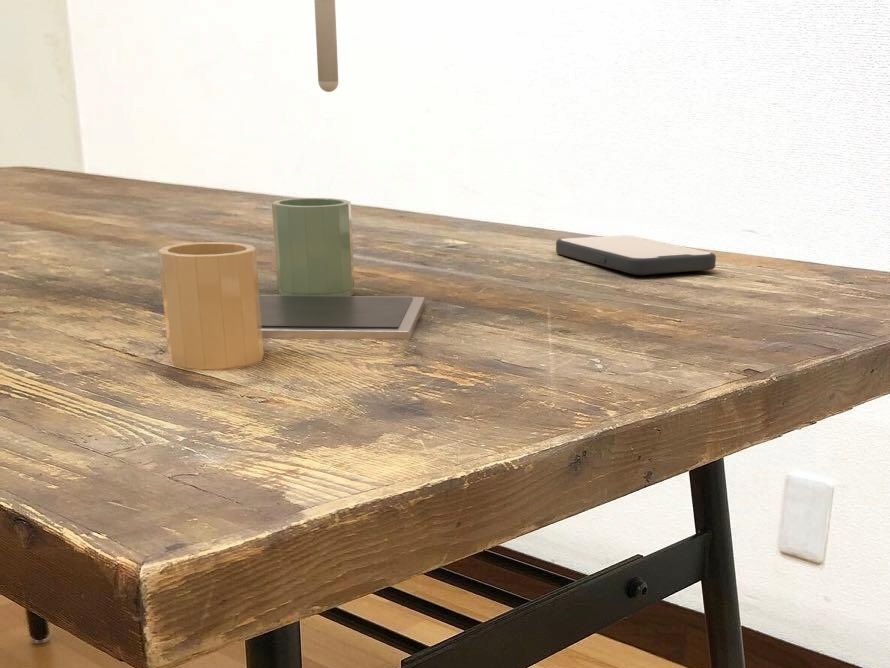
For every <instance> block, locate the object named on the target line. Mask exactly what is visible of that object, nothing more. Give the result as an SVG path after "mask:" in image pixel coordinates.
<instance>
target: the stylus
mask: <svg viewBox="0 0 890 668" xmlns="http://www.w3.org/2000/svg"><path fill="white" fill-rule="evenodd" d="M336 12H337V11H336V0H314V20H315V22H314V23H315V43H316V63H317V82H318V86H319V88H320V89H321V90H322V91H324V92H326V93H331V92H334V91H335V90H336V89H337V88H338V86H339V63H338V62H339V61H338V42H337V41H338V40H337V39H338V38H337V37H338V36H337V15H336V14H337V13H336Z"/></svg>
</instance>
